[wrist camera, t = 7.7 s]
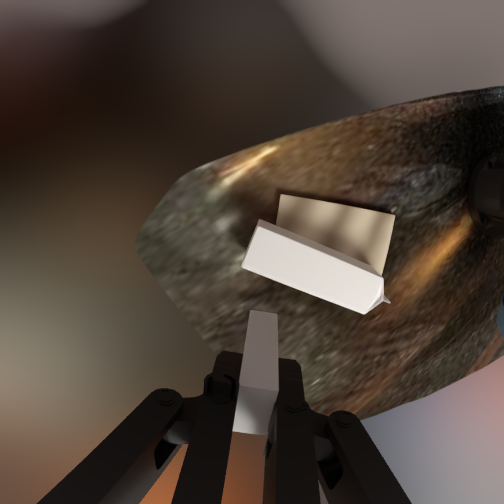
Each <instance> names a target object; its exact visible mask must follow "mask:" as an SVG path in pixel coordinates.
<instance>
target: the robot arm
mask: <svg viewBox="0 0 504 504" xmlns="http://www.w3.org/2000/svg"><path fill="white" fill-rule="evenodd" d="M468 206H469V211H470V214H471V217H472V220H473V222H474V224H475V225H476V227H477V228H478V229H479V230H480V231H481V232H482V233H484V234H485V235H488V236H490V237H493V238H504V157H503V156H487V157H485V158H483V159H481V160H480V161H479V162H478V163H477V165H476V166H475V168H474V170H473V172H472V174H471V177H470V181H469V186H468ZM497 325H498V329H499V331H500V333H501V334H502V336H503V337H504V293H503V295H502V298H501V305H500V308H499V311H498V314H497ZM301 374H302V372H301V366H300V365H299V364H298V362H297V361H296V360H291V359H283V358H278V328H277V314H274V313H267V312H260V311H253V310H250V316H249V322H248V329H247V335H246V341H245V348H244V354H241V353H235V352H229V351H222V352H221V353H220V354H218V355H217V358H216V361H215V364H214V368H213V371H212V373H210V374H208V375H207V376H206V377H205V379H204V392H203V394H202V395H200V396H197V397H191V398H182V396H181V395H180V394H179V393H178V392H176V391H175V390H172V389H168V388H161V389H157V390H155V391H153V392H151V394H149V395H148V397H146V398H145V399H144V400H143V402H141V403H140V404H139V406H137V407H136V408H135V409H134V410H133V412H131V414H129V415H128V416H127V417H126V419H124V420H123V422H121V423H120V424H119V426H117V427H116V428H115V429H114V430H113V431H112V433H110V434H109V435H108V436H107V437H106V438H105V439H104V440H103V441H102V442H101V443H100V444H99V445H98V446H97V447H96V448H95V449H94V450H93V451H92V452H91V453H90V454H89V455H88V456H87V457H86V458H85V459H84V460H83V461H82V462H81V463H79V464H78V465H77V466H76V467H75V468H74V469H73V470H72V471H71V472H70V473H69V474H68V475H67V476H66V477H65V478H64V479H63V480H62V481H61V482H59V483H58V484H57V485H56V486H55V487H54V488H53V489H52V490H51V491H50V492H49V493H48V494H47V495H45V496H44V497H43V498H42V499H41V500H40V501H39V502H38V503H37V504H139V503H140V501H141V500H142V499H143V498H144V496H145V495H146V494H147V492H148V491H149V490H150V489H151V487H152V486H153V485H154V483H155V482H156V481H157V479H158V478H159V476H160V475H161V474H162V472H163V471H164V470H165V468H166V467H167V466H168V464H169V463H170V462H171V460H172V459H173V457H174V456H175V455H176V453H177V452H178V451H179V449H180V448H181V446H182V444H189V445H188V448H187V452H186V455H185V458H184V462H183V465H182V469H181V472H180V475H179V479H178V482H177V485H176V489H175V492H174V496H173V499H172V503H171V504H221V500H222V494H223V488H224V481H225V475H226V469H227V463H228V456H229V450H230V444H231V437H232V431H236V432H243V433H250V434H258V435H267V432H268V439H267V442H266V445H265V449H264V452H263V455H265V468H264V486H263V503H262V504H320V493H319V483H318V480H319V482H320V484H321V487H322V489H323V492H324V494H325V496H326V498H327V501H328V503H329V504H412V503H411V502H410V500H409V498H408V497H407V495H406V494H405V492H404V491H403V489H402V487H401V486H400V484H399V482H398V481H397V479H396V478H395V476H394V475H393V473H392V472H391V470H390V468H389V466H388V465H387V463H386V462H385V460H384V458H383V457H382V455H381V454H380V452H379V450H378V449H377V447H376V446H375V444H374V443H373V441H372V439H371V438H370V436H369V434H368V433H367V431H366V430H365V428H364V426H363V425H362V423H361V422H360V420H359V419H358V418H357V416H356V415H354V414H352V413H351V412H348V411H335V412H333V413H331V414H330V415H329V416H326V415H322V414H319V413H317V412H314V411H313V410H311V409H310V407H309V404H308V403H307V402H306V401H305V397H304V389H303V381H302V375H301Z"/></svg>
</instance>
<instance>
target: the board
mask: <svg viewBox="0 0 504 504" xmlns="http://www.w3.org/2000/svg"><path fill="white" fill-rule="evenodd" d="M394 219H395V215H392V214H388V213H383V212H378V211H374V210H369V209H364V208H358V207H353V206H348V205H343V204H337V203H332V202H326V201H321V200H315V199H309V198H303V197H297V196H291V195H284V194H280V201H279V208H278V214H277V221H276V226H278V227H281V228H283V229H286V230H288V231H291V232H293V233H295V234H298V235H300V236H303V237H305V238H307V239H310V240H312V241H315V242H317V243H319V244H322V245H324V246H326V247H329V248H331V249H334V250H336V251H338V252H341V253H343V254H345V255H348V256H350V257H352V258H354V259H357V260H359V261H361V262H364V263H366V264H368V265H370V266H372V267H373V268H374V269H375V270H376V271H377V272H378V273H379V274H380V275H381V276H382V272H383V268H384V264H385V260H386V256H387V252H388V247H389V243H390V238H391V234H392V229H393V224H394Z"/></svg>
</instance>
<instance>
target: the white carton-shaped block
mask: <svg viewBox="0 0 504 504" xmlns="http://www.w3.org/2000/svg"><path fill="white" fill-rule="evenodd" d="M241 267H242V268H245V269H247V270H250V271H252V272H255V273H257V274H260V275H262V276H265V277H267V278H270V279H273V280H275V281H278V282H280V283H283V284H285V285H288V286H291V287H293V288H296V289H298V290H301V291H304V292H306V293H309V294H311V295H314V296H317V297H319V298H322V299H325V300H327V301H330V302H333V303H335V304H338V305H340V306H343V307H346V308H348V309H351V310H354V311H356V312H359V313H362V314H366V313H367V312H368V311H370V310H371V309H373V308H374V307H375V306H377V305H378V304H379V303H381V302H382V301H385V302H387V303H391V302H390V301H389V300H388V299H387V298H386V296H385V295H384V280H383V277H382V276H381V275H380V274H379V273H378V272H377V271H376V270H375V269H374V268H373V267H372V266H370V265H368V264H366V263H364V262H361V261H359V260H357V259H354V258H352V257H350V256H348V255H345V254H343V253H341V252H338V251H336V250H334V249H331V248H329V247H326V246H324V245H322V244H319V243H317V242H315V241H312V240H310V239H307V238H305V237H303V236H300V235H298V234H295V233H293V232H291V231H288V230H286V229H283V228H281V227H278V226H276V225H273V224H271V223H269V222H266V221H264V220H261V219H259V220H258V223H257V225H256V228H255V230H254V233H253V235H252V238H251V240H250V243H249V245H248V248H247V250H246V253H245V255H244V258H243V262H242V265H241Z"/></svg>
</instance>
